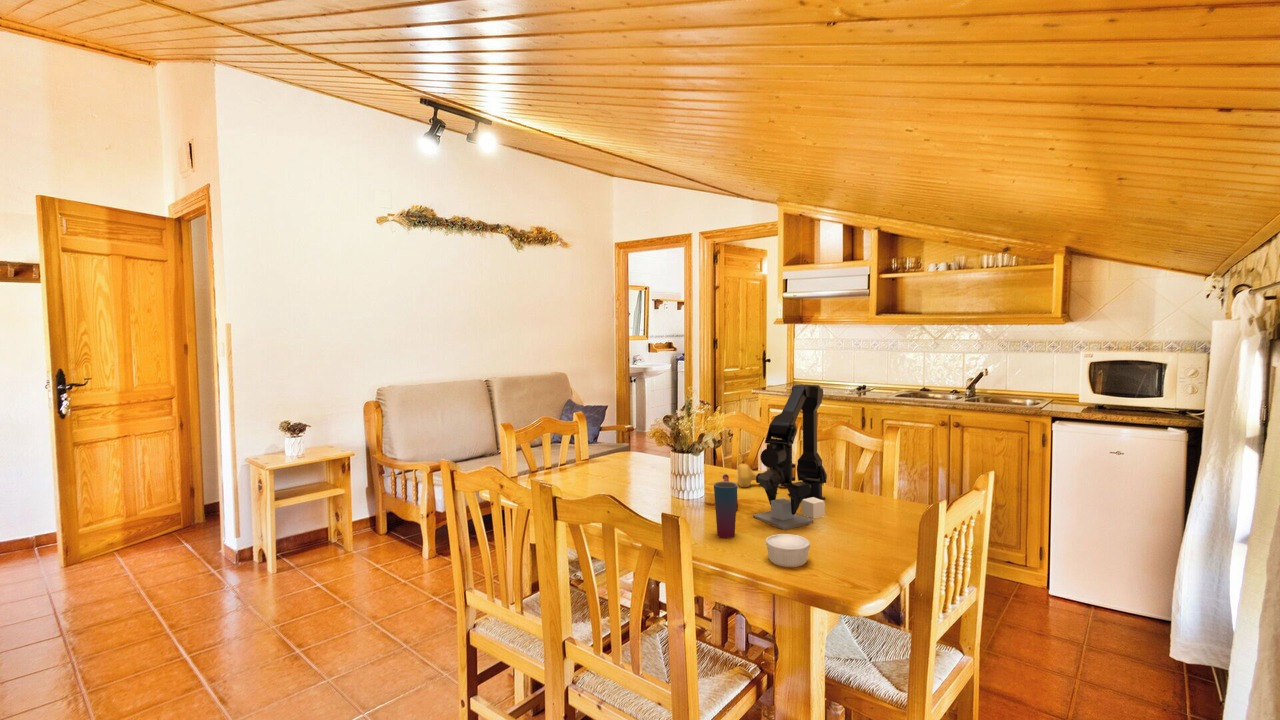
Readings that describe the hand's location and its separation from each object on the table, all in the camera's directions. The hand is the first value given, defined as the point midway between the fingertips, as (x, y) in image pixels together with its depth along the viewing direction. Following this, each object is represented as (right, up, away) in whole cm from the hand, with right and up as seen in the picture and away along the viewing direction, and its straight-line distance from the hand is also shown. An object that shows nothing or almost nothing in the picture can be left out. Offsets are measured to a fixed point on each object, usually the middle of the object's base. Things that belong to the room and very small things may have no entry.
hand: (782, 510), depth 189 cm
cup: (-19, -4, -12) cm, 23 cm away
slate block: (0, -2, 0) cm, 2 cm away
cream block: (+11, -3, +4) cm, 12 cm away
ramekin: (-6, -6, -31) cm, 32 cm away
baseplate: (0, -3, 0) cm, 3 cm away
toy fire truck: (-15, -3, +14) cm, 21 cm away
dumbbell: (+2, -1, +39) cm, 39 cm away
